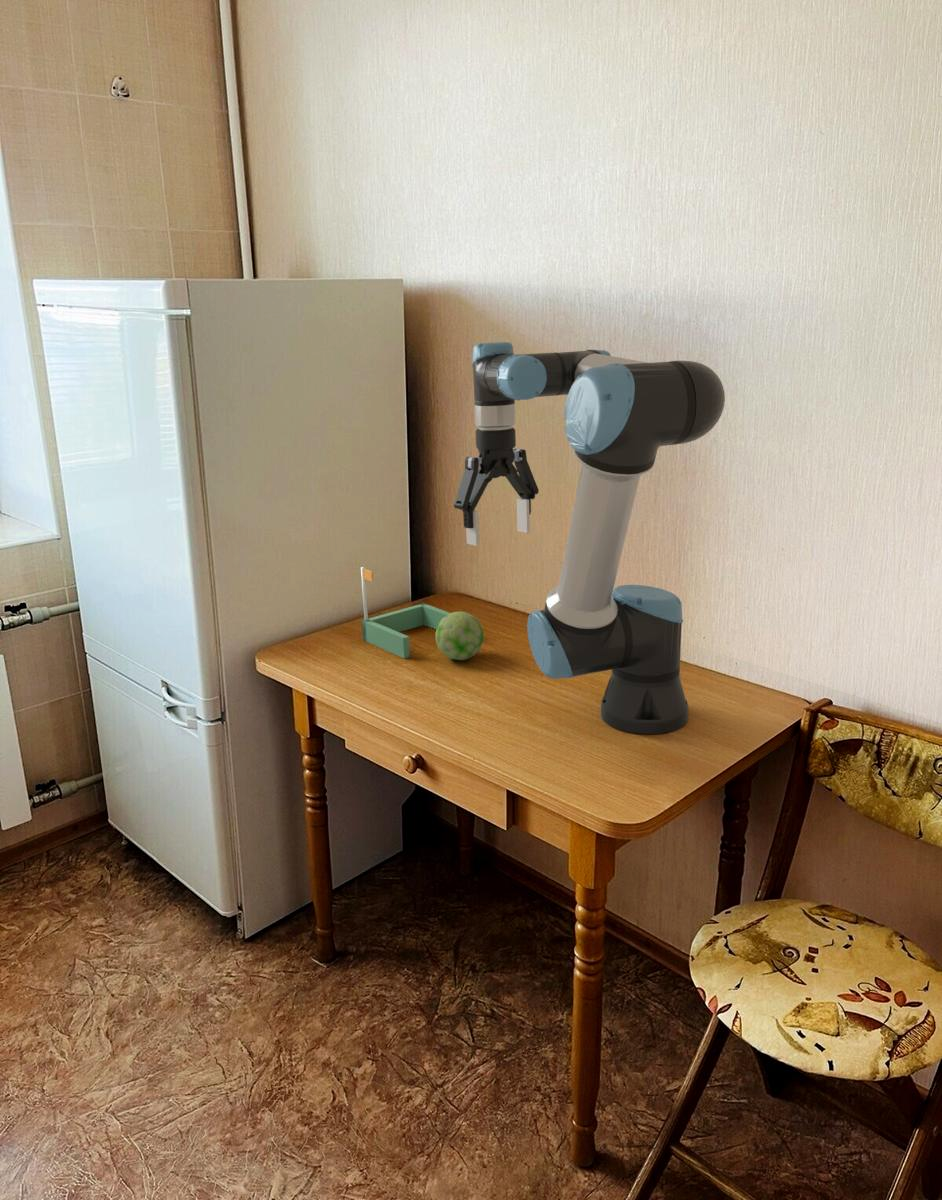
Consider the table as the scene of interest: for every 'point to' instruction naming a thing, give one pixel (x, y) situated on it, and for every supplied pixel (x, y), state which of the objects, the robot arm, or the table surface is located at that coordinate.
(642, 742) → the table surface
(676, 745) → the table surface
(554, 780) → the table surface
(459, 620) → the decorative ball
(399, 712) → the table surface
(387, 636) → the cup
